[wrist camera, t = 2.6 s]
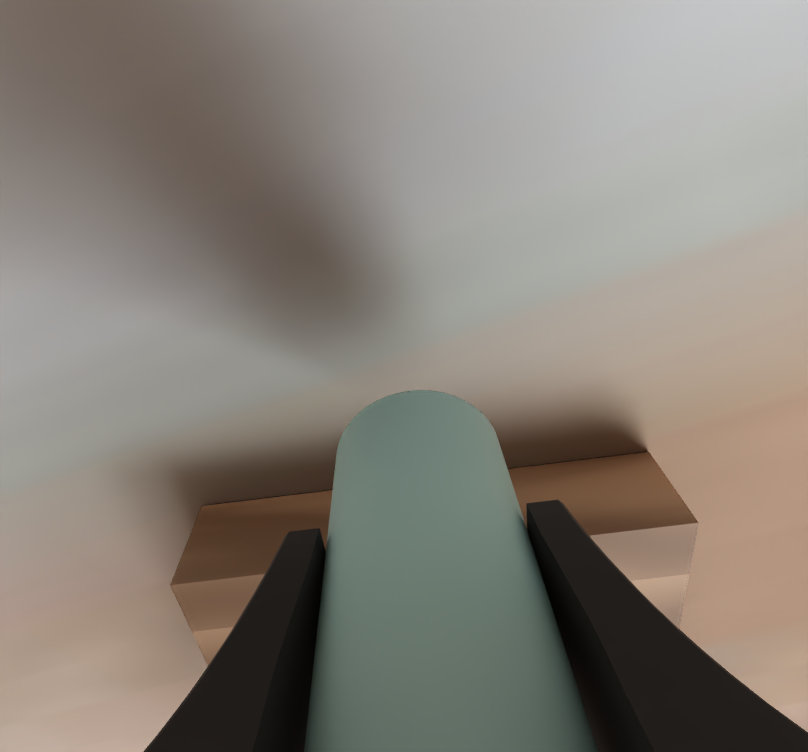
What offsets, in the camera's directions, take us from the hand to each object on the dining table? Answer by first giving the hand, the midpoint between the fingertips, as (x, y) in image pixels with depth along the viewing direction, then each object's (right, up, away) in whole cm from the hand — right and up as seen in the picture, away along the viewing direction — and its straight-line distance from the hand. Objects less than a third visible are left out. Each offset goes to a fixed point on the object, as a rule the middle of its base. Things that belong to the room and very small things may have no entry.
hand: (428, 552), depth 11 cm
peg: (0, +1, +3) cm, 3 cm away
